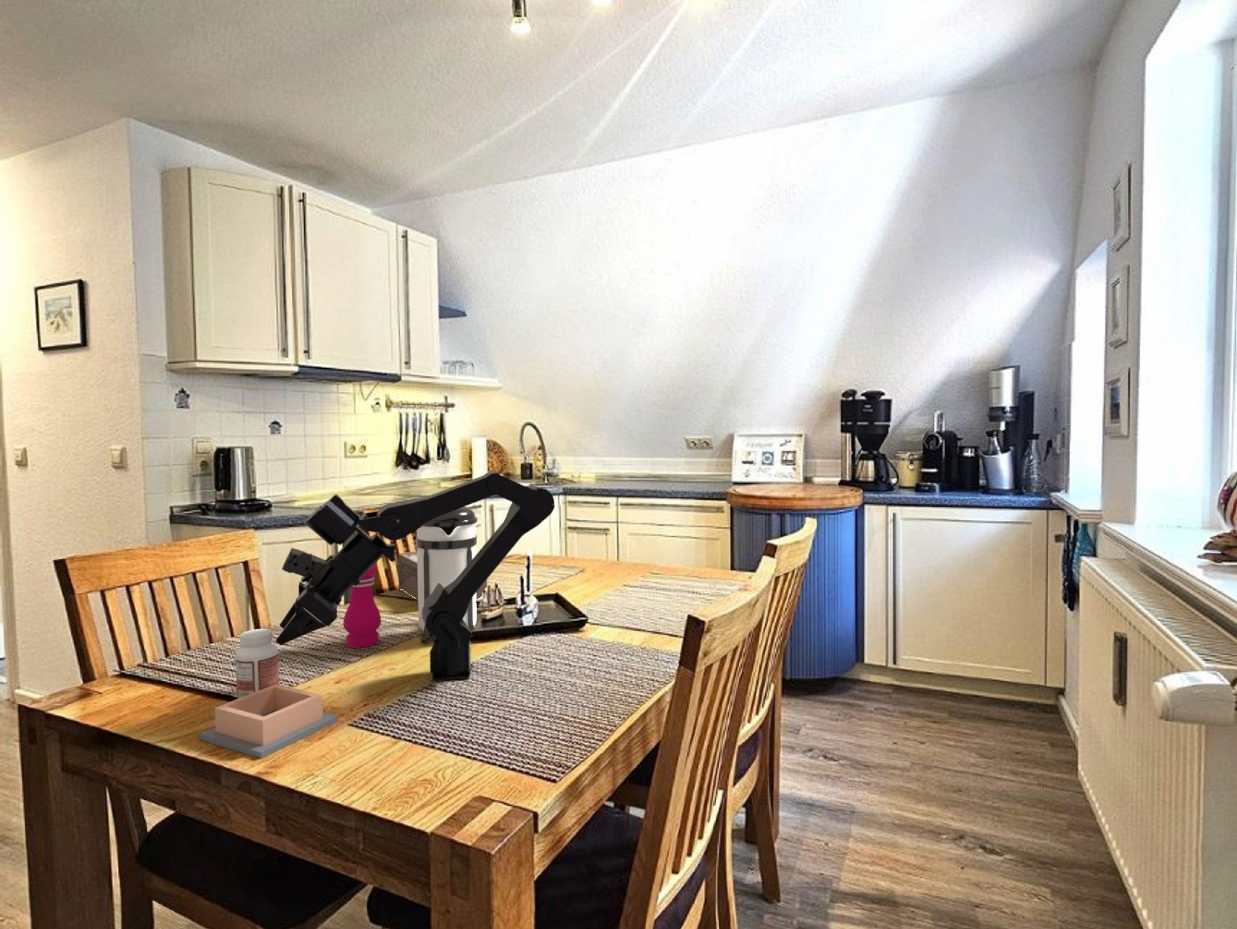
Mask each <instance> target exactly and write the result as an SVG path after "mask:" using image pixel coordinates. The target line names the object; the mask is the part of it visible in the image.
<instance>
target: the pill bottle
mask: <svg viewBox="0 0 1237 929" xmlns="http://www.w3.org/2000/svg"><path fill="white" fill-rule="evenodd" d="M273 635H274V634H273V630H272V629H269V628H257V629H251V630H246V631H244V632H242V633H240V635H239V643H240V644H239V645H241V646H240V647H239V648H238V649H237V650H236V652H235V660H234V661H235V678H236V681H235V682H236V699H239V698H241V697H244V696H247V695H249V694H252V693H254V692H257V691H259V690H262V689H265V688H267V687H270V686H272V685H275V684H278V685H280V665H279V664H280V662H279V648H278V645H276V644H275V643H274V642H272V640H273V638H274V637H273Z"/></svg>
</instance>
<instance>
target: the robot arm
mask: <svg viewBox="0 0 1237 929" xmlns="http://www.w3.org/2000/svg"><path fill="white" fill-rule="evenodd" d="M492 496H493V497H494V496H498V497H500V498H503V499H505V500H506V501H509V502H511V504H510V506H509V508H508V510H507V513H506V516H505V519H504V520H503V522H502V523H501V524H500V525H499V527H498V528H497V529H496V530H495V531H494V533H493V534H492V535H491V536H490V538H488V540H487V541H486V542H485V543H484V545H483V546H482V547H481V548H480V550H479V551H478V552H476V556H475V557H474V558H473V559H472V560H471V562H470V563H469V564H468V565H467V566H466V568H465V569H464V570H463V571H462V572H461V574H460V575H459V576H458V577H457V578H456V580H455V581H453V582H452V583H451V584H449V585H448V586H446V587H443V586H442V585H441V584H440V583H438V584H437V586H436V587H435V589H434V591H433V592H432V594H431V595H430V596H428V597H427V598H425V599H424V601H425V605H424V606H423V609H422V618H423V621H424V623H425V625H426V627H427V630H428V631H429V632H430V633H431V635H433V637H434V639H433V643H432V646H431V648H430V650H429V671H430V672H429V673H430V674H432V675H431V680H433V681H440V680H460V679H469V678H470V677H471V673H472V668H473V663H472V661H471V657H472V656H471V653H472V652H471V651H472V650H471V649H472V648H471V647H472V646H471V641H472V640H471V637H472V636H473V635H472V632H471V631H470V629H469V628H468V626H467V625H466V623H465V622H464V620H463V618H464V616H465V614H466V612H467V609H468V607H469V604H470V602H471V599H472V597H473V596H474V594H475V593H476V592H477V591H478V590H479V588H480V587H481V586H482V585H483V583H484V582H485V581H486V580H487V581H488V579H489V578H490V576H491V575H492V574H493V572H495V570H496V569H497V568H498V567H499V565H500V564H501V563H502V562H503V560H504V559H505V558H506V557H507V555H508V554H509V553H510V552H511V551H512V550H513V548H514V547H515V546H516V545H517V544H518V542H519V541H520V540H521V538H522V537H523V536H524V535H526V534H527V533H529V532H531V531H532V530H533V529H535V528H537V527H538V526H540V525H541V524H542V523H543V522H544V521H545V520H546V519H548V517H549V516H551V514H552V513H553V512H554V510H555V506H556V505H555V498H554V495H553V494H552V493H551V492H550V490H548V489H546V488H543V487H541V486H538V485H533V484H532V485H531V484H530V485H523V484H521V483H519V482H516V481H515V480H512V479H510V478H508V477H506V476H504V475H503V474H501V473H499V472H497V471H489V472H486V473H484V474H483V475H481V476H479V477H476V478H474V479H473V478H472V479H471V480H467V481H465V482H462V483H459V484H457V485H455V486H452V487H449V488H446V489H444V490H441V491H438V492H435V493H433V494H431V495H427V496H424V497H419V498H413V499H406V500H400V501H395V502H394V501H393V502H389V503H385V504H384V505H382V506H381V507H380V508H378V510H376V511H369V512H363V513H357V512H355V511H354V509H352V508H351V507H350V506H349V505H348V504H346V503H345V501H344V500H343V499H342V497H340V496H339V495H338V494H334V495H333V496H332V497H331V498H329V499H328V500H327V501H326V502H325V503H324V504H322V505H319V506H318V507H317V508H316V509H315V510H314V511H313V512H312V513H311V514H310V515H309V516H308V518H307V519H306V520H305V521H304V523H303V524H304V525H305V526H307V527H308V528H309V529H310V530H311V531H313V533H315V534H316V535H318V536H319V537H320V538H321V539H322V540H323V541H324V542H325V543H326V544H328V545H329V546H333V544H335V545H339V546H341V545H343V544H344V543H345V542H346V544H345V545H344V546H343V547H342V548H341V549H340V550H339V551H338V552H337V553H336V554H332V555H331V554H330V555H329V556H328V557H327V558H326V559H323V558H321V557H319V556H317V555H314V554H312V553H308V552H306V551H305V550H300V549H297V548H293V547H292V548H290V551H289V552H288V554H287V557H286V559H285V560H284V563H283V565H282V568H281V570H282V571H284V572H286V573H288V574H292V573H293V574H295V575H298V576H301V578H300V581H299V582H298V596H297V597H296V599H295V601H294V602H293V604H292V605H291V607H290V609H288V611H287V613H286V614H285V616H284V618H283V619H282V620H281V622H280V623H279V627H281V628H282V631H281V632H280V634H279V635H278V636H277V638H275V642H276V643H277V644H278V645H279V646H283V645H285V644H286V643H287V644H288V643H290V642H291V641H294V640H296V639H298V638H301V637H302V636H305V635H308V634H311V633H313V632H315V631H318V630H319V629H324V628H326V627H330V626H331V625H332V624H333V623H334V621H336V619H338V606H339V604H340V603H341V602H342V599H343V598H342V597H344V596H345V595H346V594H347V592H349V591H351V588H352V586H353V585H355V586H357V585H358V584H359V583H360V578H361V577H362V576H363V575H364V574H365V573H366V572H367V571H368V570H369V569H370V568H371V567H372V566H373V565H374V564H375V563H377V562H379V560H380V559H382V557H383V556H384V557H385V558H386V559H387V560H389V561H390V562H391V563H394V562H395V561H396V556H395V553H396V552H395V551H396V548H397V546H396V545H395V544H394V543H386V542H385V541H384V540H383V539H382V538H381V537H380V536H382V537H383V538H384V539H387V540H388V541H399V540H402V539H404V538H406V537H407V536H409V535H411V534H412V533H414V532H417V530H418V529H419V528H420V527H422V526H423V525H425V524H426V523H427V522H429V521H430V520H432V519H434V518H436V517H439V516H441V515H444V514H446V513H449V512H452V511H454V510H457V509H459V508H462V507H467V506H469V505H473V504H475V503H478V502H480V501H483V500H485V499H488V498H491V497H492ZM358 525H359V526H360V527H361V528H360V527H359V526H358ZM362 528H363V529H362ZM365 531H366V532H370V533H371V532H372V533H374V534H372V535H371V536H370V535H369V534H368V533H366V532H365ZM355 532H357V533H356V534H355V535H354V536H353V537H352V538H351V539H350V540H348V539H349V538H350V537H351V536H352V535H353V534H354V533H355ZM376 533H378V534H380V536H379V535H377V534H376ZM347 541H348V542H347Z"/></svg>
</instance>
